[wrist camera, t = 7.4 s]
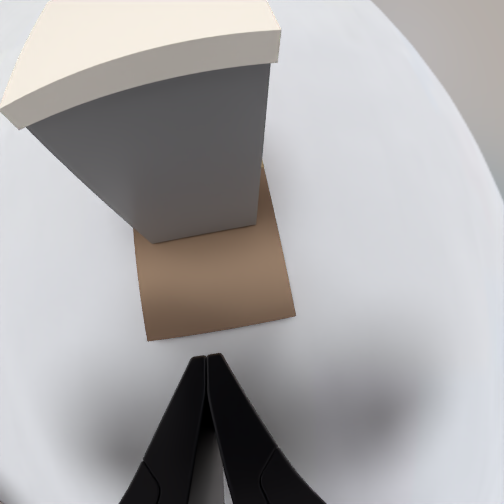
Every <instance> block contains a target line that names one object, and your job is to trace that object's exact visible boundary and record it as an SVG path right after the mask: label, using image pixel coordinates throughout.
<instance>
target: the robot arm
mask: <svg viewBox="0 0 504 504" xmlns="http://www.w3.org/2000/svg"><path fill="white" fill-rule="evenodd" d="M223 468H224V472H225V476H226V479H227V483H228V487H229V491H230V494H231V498H232V501H233V504H326V503H325V502H324V501H323V500H322V499H321V498H320V497H319V496H318V495H317V494H316V493H315V492H314V491H313V490H312V489H311V488H310V487H309V485H308V484H307V483H306V482H305V481H304V480H303V479H302V478H301V477H300V475H299V474H298V473H297V472H296V470H295V469H294V468H293V466H292V465H291V464H290V462H289V461H288V460H287V458H286V457H285V455H284V454H283V452H282V451H281V449H280V448H278V445H277V443H276V442H275V440H274V439H273V437H272V436H271V434H270V433H269V431H268V430H267V428H266V426H265V425H264V423H263V422H262V420H261V419H260V417H259V415H258V414H257V412H256V411H255V409H254V407H253V406H252V404H251V403H250V401H249V399H248V398H247V396H246V394H245V393H244V391H243V389H242V388H241V386H240V384H239V383H238V381H237V379H236V378H235V376H234V374H233V372H232V371H231V369H230V367H229V366H228V364H227V362H226V360H225V359H224V357H223V355H222V354H221V353H216V354H210V355H208V356H207V357H206V356H204V355H203V356H196V357H192V358H191V359H190V361H189V363H188V365H187V368H186V370H185V372H184V374H183V376H182V378H181V380H180V382H179V384H178V386H177V388H176V390H175V392H174V395H173V397H172V399H171V401H170V403H169V405H168V407H167V409H166V411H165V413H164V415H163V417H162V420H161V422H160V424H159V426H158V428H157V430H156V432H155V434H154V436H153V438H152V441H151V443H150V445H149V447H148V449H147V451H146V453H145V455H144V457H143V461H142V462H141V463H140V466H139V468H138V470H137V472H136V474H135V476H134V478H133V480H132V482H131V484H130V486H129V488H128V489H127V491H126V493H125V494H124V496H123V497H122V499H121V501H120V502H119V504H224V485H223Z"/></svg>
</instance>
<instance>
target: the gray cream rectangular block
mask: <svg viewBox="0 0 504 504" xmlns="http://www.w3.org/2000/svg"><path fill="white" fill-rule="evenodd" d="M280 37H281V28H280V26H279V24H278V22H277V20H276V18H275V16H274V14H273V12H272V10H271V8H270V6H269V4H268V2H267V0H51V1H49V2H47V4H46V6H45V7H44V9H43V11H42V13H41V14H40V16H39V18H38V20H37V21H36V23H35V25H34V27H33V29H32V31H31V33H30V35H29V37H28V39H27V41H26V43H25V45H24V47H23V49H22V51H21V53H20V55H19V58H18V60H17V62H16V64H15V67H14V69H13V72H12V74H11V76H10V79H9V81H8V84H7V87H6V89H5V92H4V95H3V98H2V101H1V103H0V112H1V113H2V114H3V115H4V116H5V117H6V118H7V119H8V120H9V121H10V122H11V123H12V124H13V125H14V126H15V127H16V128H17V129H18V130H21V129H23V128H25V127H26V128H27V129H28V130H29V131H30V132H31V133H32V134H33V135H34V136H35V137H36V138H37V139H38V140H39V141H40V142H41V143H42V144H43V145H44V146H45V147H46V148H47V149H48V150H49V151H50V152H51V153H52V154H53V155H54V156H55V157H56V158H57V159H58V160H59V161H61V162H62V163H63V164H64V165H65V166H66V167H67V168H68V169H69V170H70V171H71V172H72V173H73V174H74V175H75V176H76V177H77V178H79V179H80V180H81V181H82V182H83V183H84V184H85V185H86V186H87V187H88V188H89V189H90V190H91V191H93V192H94V193H95V194H96V195H97V196H98V197H99V198H100V199H101V200H102V201H104V202H105V203H106V204H107V205H108V206H109V207H110V208H111V209H113V210H114V211H115V212H116V213H117V214H118V215H119V216H120V217H122V218H123V219H124V220H125V221H126V222H127V223H128V224H130V225H131V226H132V227H133V228H134V229H135V230H136V231H138V232H139V233H140V234H141V235H142V236H143V237H145V238H146V239H147V240H148V241H149V242H150V243H152V244H154V243H159V242H164V241H169V240H174V239H180V238H185V237H190V236H195V235H201V234H206V233H211V232H217V231H222V230H228V229H233V228H239V227H244V226H250V225H256V219H257V208H258V197H259V186H260V175H261V164H262V153H263V142H264V131H265V120H266V109H267V98H268V86H269V75H270V64H271V63H278V55H279V46H280Z"/></svg>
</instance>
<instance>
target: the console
mask: <svg viewBox="0 0 504 504" xmlns="http://www.w3.org/2000/svg"><path fill="white" fill-rule="evenodd" d="M133 232H134V244H135V255H136V264H137V273H138V281H139V289H140V297H141V304H142V311H143V317H144V324H145V330H146V335H147V341H154V340H162V339H169V338H176V337H183V336H190V335H196V334H202V333H209V332H215V331H221V330H226V329H232V328H238V327H243V326H249V325H254V324H259V323H264V322H270V321H275V320H280V319H284V318H289V317H294V316H296V313H295V308H294V303H293V298H292V294H291V289H290V284H289V279H288V274H287V269H286V265H285V260H284V255H283V251H282V246H281V241H280V237H279V232H278V228H277V223H276V219H275V214H274V210H273V205H272V201H271V196H270V192H269V188H268V183H267V179H266V175H265V171H264V165H263V161H262V164H261V175H260V186H259V197H258V208H257V219H256V225H250V226H244V227H239V228H233V229H228V230H222V231H217V232H211V233H206V234H201V235H195V236H190V237H185V238H180V239H174V240H169V241H164V242H159V243H154V244H152V243H150V242H149V241H148V240H147V239H146V238H145V237H143V236H142V235H141V234H140V233H139V232H138V231H136V230H135V229H134V228H133Z"/></svg>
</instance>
